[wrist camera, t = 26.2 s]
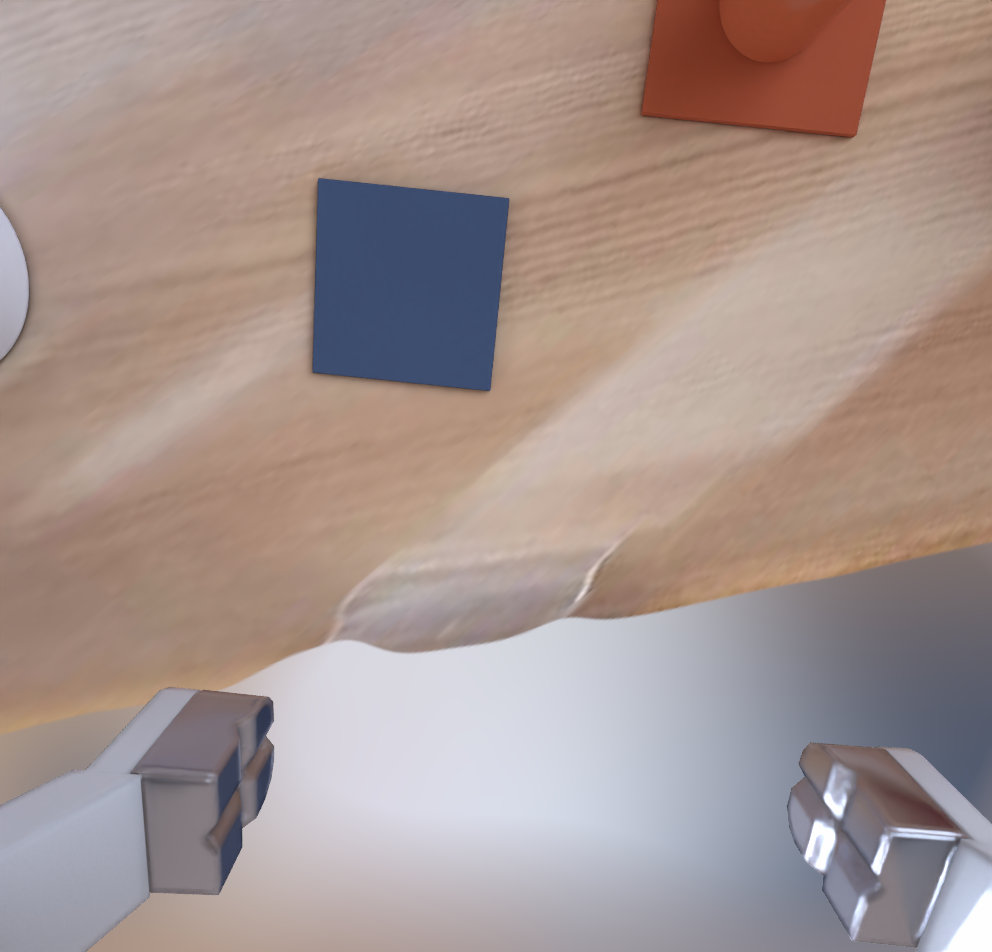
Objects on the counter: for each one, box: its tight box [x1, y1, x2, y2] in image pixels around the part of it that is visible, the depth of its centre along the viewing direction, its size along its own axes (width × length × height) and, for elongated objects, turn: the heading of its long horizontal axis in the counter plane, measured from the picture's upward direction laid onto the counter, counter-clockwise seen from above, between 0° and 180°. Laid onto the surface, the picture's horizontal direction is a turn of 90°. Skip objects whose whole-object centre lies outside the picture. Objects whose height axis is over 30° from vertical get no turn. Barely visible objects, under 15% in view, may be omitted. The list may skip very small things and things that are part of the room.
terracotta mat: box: [641, 0, 886, 137], centre depth 32 cm, size 13×13×1 cm
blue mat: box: [313, 178, 509, 391], centre depth 35 cm, size 12×12×1 cm
